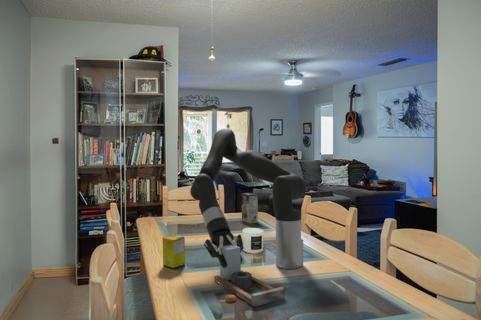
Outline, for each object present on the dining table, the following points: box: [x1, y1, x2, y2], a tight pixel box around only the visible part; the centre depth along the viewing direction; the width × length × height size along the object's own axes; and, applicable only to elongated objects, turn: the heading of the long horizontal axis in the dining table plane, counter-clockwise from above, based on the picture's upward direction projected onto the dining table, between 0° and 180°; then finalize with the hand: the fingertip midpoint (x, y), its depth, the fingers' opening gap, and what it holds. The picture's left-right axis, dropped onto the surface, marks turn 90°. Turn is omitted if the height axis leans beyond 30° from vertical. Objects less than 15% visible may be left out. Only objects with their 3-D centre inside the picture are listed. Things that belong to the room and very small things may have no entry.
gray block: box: [219, 244, 242, 281], centre depth 131 cm, size 5×5×10 cm
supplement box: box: [162, 234, 186, 270], centre depth 145 cm, size 6×6×11 cm
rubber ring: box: [231, 270, 253, 291], centre depth 124 cm, size 6×6×4 cm
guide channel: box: [213, 274, 286, 307], centre depth 122 cm, size 20×24×3 cm
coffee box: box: [241, 192, 259, 224], centre depth 226 cm, size 9×6×16 cm
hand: (232, 265), depth 129 cm, fingers closed on gray block, 5 cm apart
